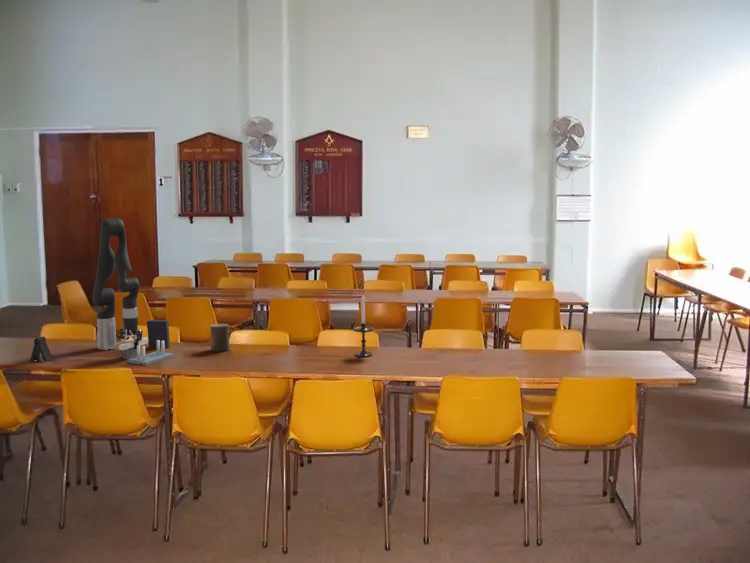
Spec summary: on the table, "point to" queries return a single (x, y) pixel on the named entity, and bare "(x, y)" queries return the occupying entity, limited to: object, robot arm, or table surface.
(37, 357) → the phone stand
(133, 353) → the block
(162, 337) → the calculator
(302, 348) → the table surface
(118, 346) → the shelf board
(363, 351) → the candlestick
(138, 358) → the peg stand
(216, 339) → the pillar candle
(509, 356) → the table surface
